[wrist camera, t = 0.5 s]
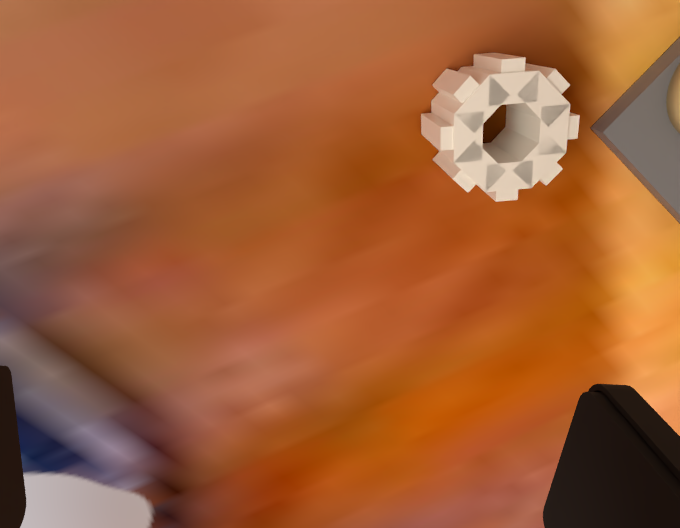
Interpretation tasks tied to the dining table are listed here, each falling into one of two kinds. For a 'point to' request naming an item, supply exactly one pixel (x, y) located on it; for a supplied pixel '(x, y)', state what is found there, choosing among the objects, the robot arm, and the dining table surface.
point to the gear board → (650, 129)
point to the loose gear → (520, 130)
